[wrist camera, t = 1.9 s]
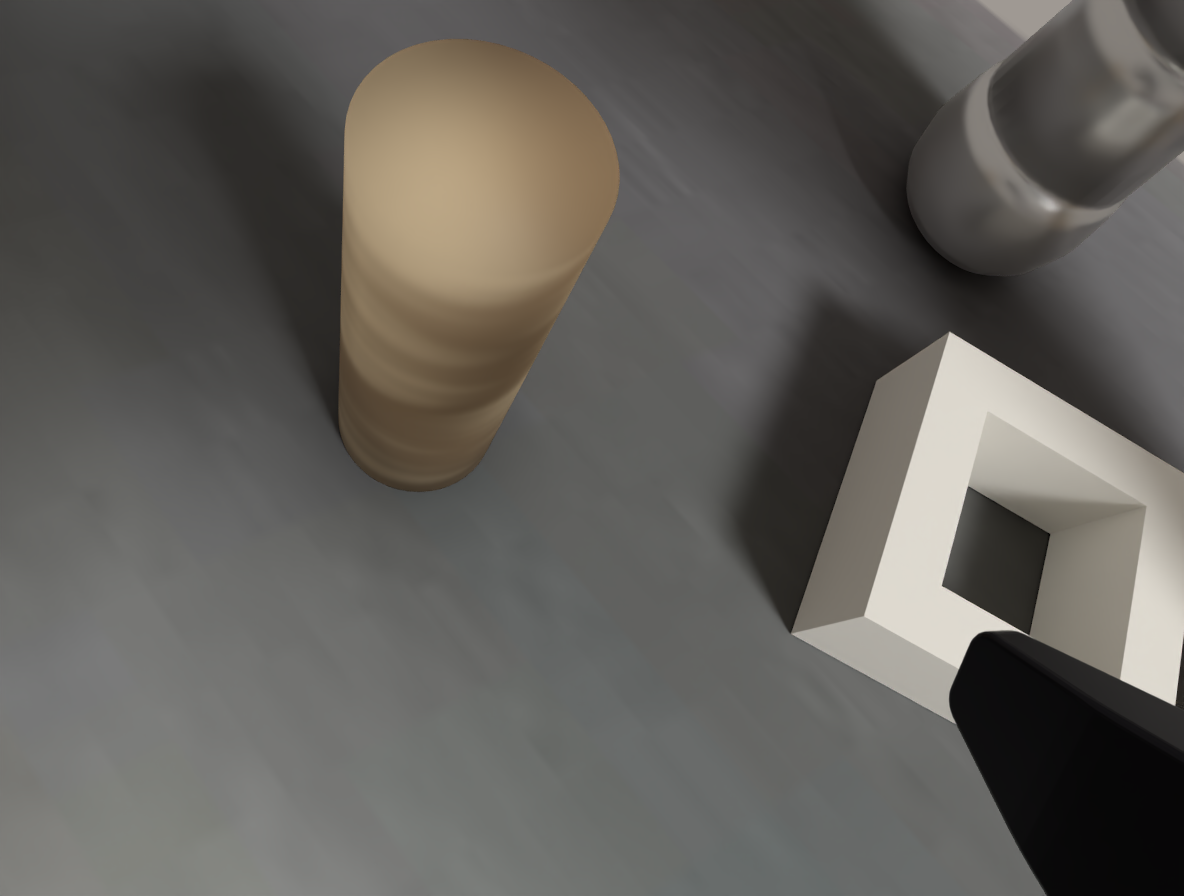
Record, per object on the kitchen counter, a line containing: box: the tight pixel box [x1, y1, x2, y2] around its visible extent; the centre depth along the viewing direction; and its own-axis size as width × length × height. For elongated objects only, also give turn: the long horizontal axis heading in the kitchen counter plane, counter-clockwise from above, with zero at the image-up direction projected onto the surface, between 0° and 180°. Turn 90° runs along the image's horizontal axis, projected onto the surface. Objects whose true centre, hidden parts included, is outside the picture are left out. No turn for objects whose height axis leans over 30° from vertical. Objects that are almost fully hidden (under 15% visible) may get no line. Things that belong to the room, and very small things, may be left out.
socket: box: [791, 332, 1184, 724], centre depth 24 cm, size 9×9×4 cm
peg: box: [338, 39, 620, 492], centre depth 17 cm, size 4×4×11 cm
